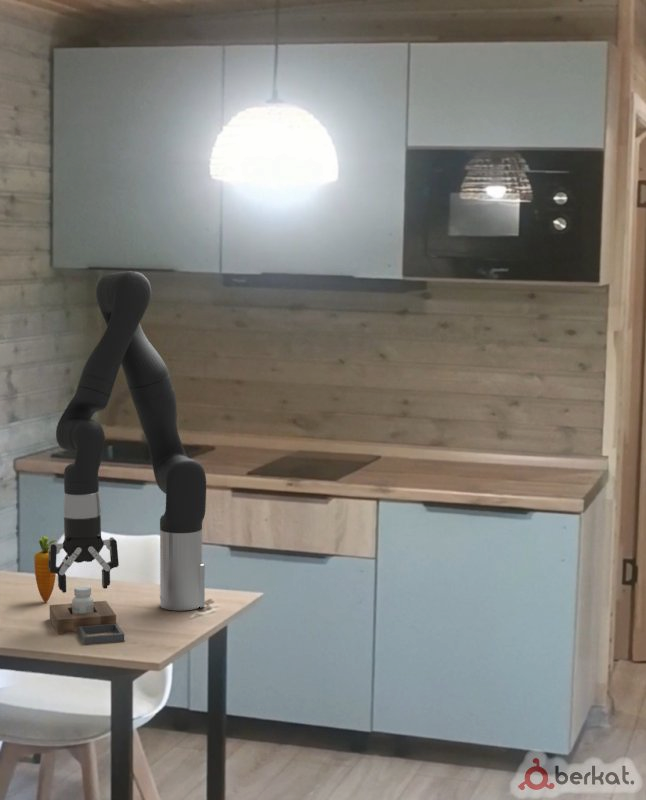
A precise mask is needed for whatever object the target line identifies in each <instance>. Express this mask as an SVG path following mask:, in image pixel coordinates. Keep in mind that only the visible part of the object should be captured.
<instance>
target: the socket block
mask: <svg viewBox="0 0 646 800" xmlns="http://www.w3.org/2000/svg"><path fill="white" fill-rule="evenodd" d="M93 612H94V613H83V614H72V602H71V603H60V604H58V603H57V604H49V621H50V622H51V624H52V626H53V629H54V630H55V632H56V633H57V635H65V634H78V627H80V626H93V625H105V624H117V615H116V613H115V611H114V610H113V608H112V607H111V606H110V605H109V603H108V601H106V600H98V601H97V600H96V601H93Z"/></svg>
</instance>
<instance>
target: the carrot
mask: <svg viewBox="0 0 646 800" xmlns="http://www.w3.org/2000/svg"><path fill="white" fill-rule="evenodd" d="M48 541H49V542H48ZM51 542H53V543H54V542H56V540H55V539H54V538H53V539H51V540H49V536H45V535H43V536H42V537H41V538H40V539H38V543H39V547H40V549H41V550H42V551H38V552H36V553H35V554H34V559H33V561H34V575H35V581H36V585H37V587H36V588H37V589H38V592H39V595H40V597H41V600H42V601H43V602H44V603H47V602H48V601H50V598H51V596H52V594H53V590H54V586H55V581H56V576H57V574H56V573H51V572H50V570H49V569H48V563H49V544H50V543H51Z"/></svg>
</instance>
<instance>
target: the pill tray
mask: <svg viewBox="0 0 646 800" xmlns="http://www.w3.org/2000/svg"><path fill="white" fill-rule="evenodd" d="M113 632H114V633H113ZM103 633H107V634H103ZM77 634H78V636H79V638H80V639H81V642H82V643H83V645H85V646H87V645H98V644H109V643H120V642H121V643H122V642H125V633H124V631H123V630H122V628H121V627H120V625H119V624H118V623H116V624H105V625H93V626H80V627H78V633H77ZM93 634H96V635H93Z"/></svg>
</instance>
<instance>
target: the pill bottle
mask: <svg viewBox="0 0 646 800" xmlns="http://www.w3.org/2000/svg"><path fill="white" fill-rule="evenodd" d="M91 595H92V587H91V586H88V585H87V586H85V585H80V586H76V587H74V597H73V598H72V601H71V603H72V614H83V613H94V612H93V602H94V599H93V597H92V596H91Z"/></svg>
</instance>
